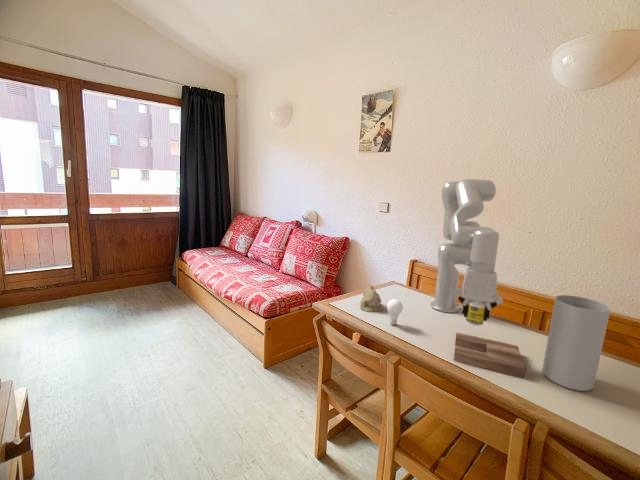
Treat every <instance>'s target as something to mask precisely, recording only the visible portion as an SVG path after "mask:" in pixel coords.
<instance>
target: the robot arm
mask: <svg viewBox="0 0 640 480" xmlns="http://www.w3.org/2000/svg"><path fill="white" fill-rule="evenodd" d="M496 190H497V187H496V184H495V183H494V182H493V181H492V180H490V179H475V178H472V179H471V178H469V179H468V178H467V179H463V180H460V181H458V180H456V181H448V182H446V183H444V184H443V186H442V189H441V201H442V204H443V209H444V214H443V226H442V227H443V228H442V230H443V231H442V235H443V238H444V239H445V240H447V241H451V242H446V243H443V244H440V245H439V247H437V248H438V249H437V264H438V265H437V275H436V276H437V277H436V284H435V295H434V300H433V301H432V302H430V307H431V308H432V309H433V310H436V311H437V312H441V313H447V314H448V313H449V314H450V313H451V314H452V313H453V314H454V313H457V312H459V310H460V307H459V306H458V305H457V299H458V301H459V302H460V303H461V304H462V312H461V313H462V314H463V317H464V318H466V316H467V309H468V302H469V301H470V300H475V301H481V302H484V303H485V305H486V308H485V314H484V321H483V322H487V319H490V315H491V314H490V312H491V310H492V309H494V308H495V307H497V306H499V305H501V304H502V303H504V300H503V298H502V297H501V296H500V295H499V293H498V292H497V287H498V274H497V272H496V271H495V268H496V261H497V254H498V246H499V241H500V233H499V232H498V231H496V230H494V229H493V228H491V227H488V226H481V225H480V224H479V222H477V221H473V220H471V219H473V218H476V217H478V216H479V215H481V214H482V213H483V212H484V209H485V205H484V202H490V201H492V200H493V199H495V196H496V193H497V191H496ZM455 265H460V266H461V265H462V266H467V267H466V270H465V272H464V276H463V280H462V281H463V282H462V285H461V286H460V287H459V280H460V273H459V269H457V267H456V266H455Z"/></svg>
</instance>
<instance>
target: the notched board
mask: <svg viewBox="0 0 640 480" xmlns="http://www.w3.org/2000/svg"><path fill="white" fill-rule="evenodd" d="M453 353H454V354H453V361H454V362H459V363H463V364H466V365H471V366H474V367H478V368H483V369H486V370H491V371H494V372H497V373H498V372H499V373H502V374H506V375H510V376H515V377H518V378H522V379H524V378H525V375H526V374H525V373H526V367H525V363H524V360H523V356H522V354H521V351H520V347H519V346H518V345H517V344H512V343H507V342H502V341H498V340H493V339H489V338H484V337H480V336H474V335H470V334H466V333H461V332H456V333H455V341H454V352H453Z"/></svg>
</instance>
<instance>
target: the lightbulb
mask: <svg viewBox="0 0 640 480" xmlns="http://www.w3.org/2000/svg"><path fill="white" fill-rule="evenodd" d="M403 307H404V306H403V304H402V302H401V301H400V300H399V299H397V298H392V299H390V300H389V301H388V302H387V304H386V310H387V311H388V313H389V318H390V319H389V320H390V321H389V323H390V324H391V325H392V326H394V325H397V323H398V318H399V316H400V314H401V313H402V311H403V309H404V308H403Z"/></svg>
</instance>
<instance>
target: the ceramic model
mask: <svg viewBox="0 0 640 480" xmlns="http://www.w3.org/2000/svg"><path fill="white" fill-rule="evenodd" d="M362 296H363V297H362V299H361V301H360V306H359V308H360V309H361V310H362V309H363V311H365V312H367V311H368V313H372V312H373V311H374V312H382V311H383V310H384V306H383V304H382V299H381V297H380V294H379V293H377V291H376V290H375V288H374V286H373V285H369V286H368V287H367V288H365V290H364V291H363V293H362ZM382 309H383V310H382ZM374 312H373V313H374Z"/></svg>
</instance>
